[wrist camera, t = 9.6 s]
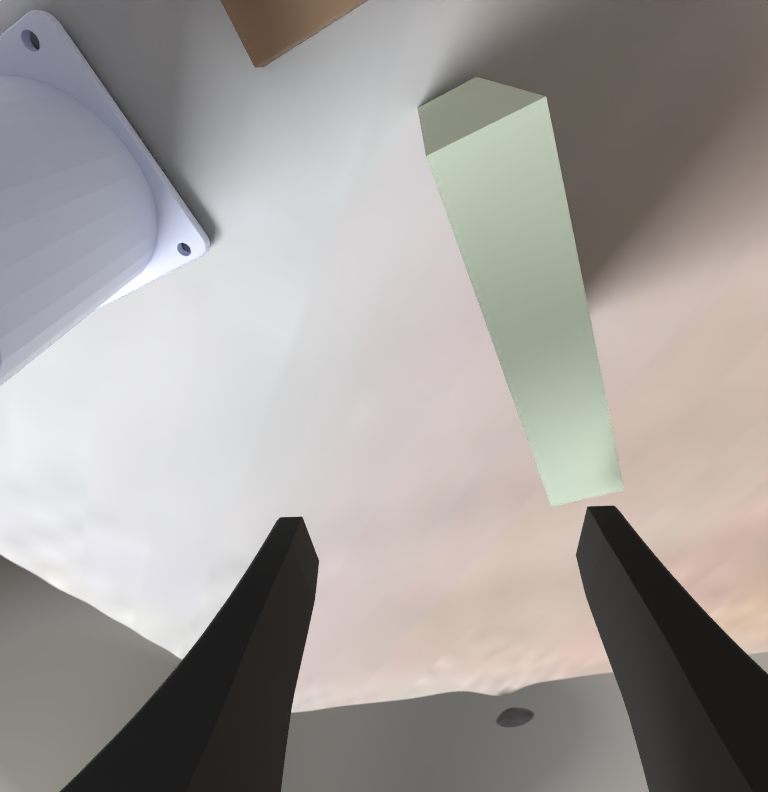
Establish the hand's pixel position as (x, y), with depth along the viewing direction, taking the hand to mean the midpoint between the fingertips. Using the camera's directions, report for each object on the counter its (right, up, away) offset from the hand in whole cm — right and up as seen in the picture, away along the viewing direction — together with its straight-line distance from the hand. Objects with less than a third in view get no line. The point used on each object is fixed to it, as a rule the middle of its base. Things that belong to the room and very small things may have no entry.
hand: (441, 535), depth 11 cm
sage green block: (+3, +10, +6) cm, 12 cm away
